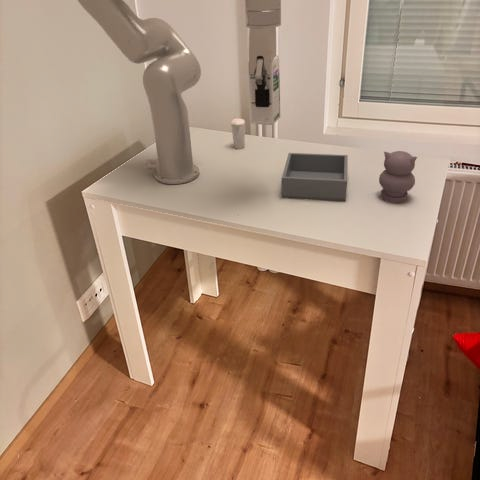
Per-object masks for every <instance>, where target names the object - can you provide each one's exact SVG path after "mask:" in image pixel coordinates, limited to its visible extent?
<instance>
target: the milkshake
mask: <svg viewBox="0 0 480 480" xmlns="http://www.w3.org/2000/svg"><path fill="white" fill-rule="evenodd" d="M246 121H247V117H246V118H245V119H244V118H236V117H235V118H234V119H232V120H231V121H230V124H231V133H232V134H231V135H232V140H233V148H234V149H237V150H242V149H244V148H245V141H246V139H245V138H246Z"/></svg>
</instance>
